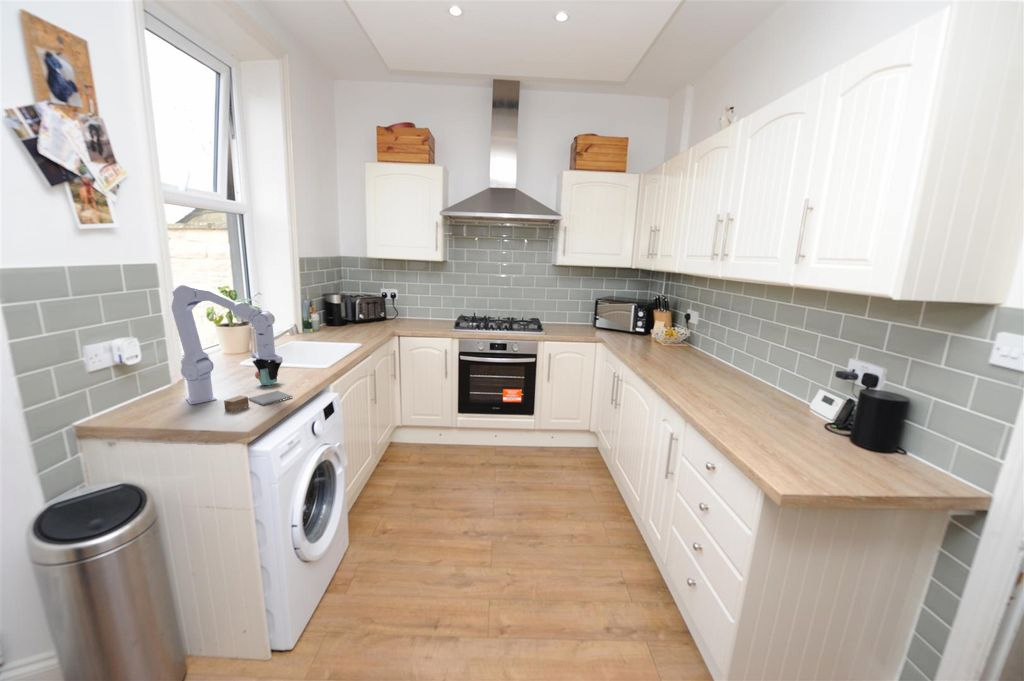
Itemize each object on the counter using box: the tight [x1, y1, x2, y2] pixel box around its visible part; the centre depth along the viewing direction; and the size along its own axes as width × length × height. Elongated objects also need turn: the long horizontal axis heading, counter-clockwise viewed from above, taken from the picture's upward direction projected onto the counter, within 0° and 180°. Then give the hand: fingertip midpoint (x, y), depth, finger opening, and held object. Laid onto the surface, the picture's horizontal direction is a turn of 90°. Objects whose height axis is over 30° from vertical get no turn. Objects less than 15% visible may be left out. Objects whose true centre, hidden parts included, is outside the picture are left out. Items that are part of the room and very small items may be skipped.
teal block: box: [260, 368, 278, 384], centre depth 156 cm, size 4×4×5 cm
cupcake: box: [254, 370, 279, 386], centre depth 174 cm, size 9×8×12 cm
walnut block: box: [223, 394, 250, 413], centre depth 147 cm, size 4×6×4 cm, turn 162°
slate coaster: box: [248, 390, 293, 406], centre depth 158 cm, size 11×11×1 cm
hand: (268, 378), depth 156 cm, fingers closed on teal block, 5 cm apart
